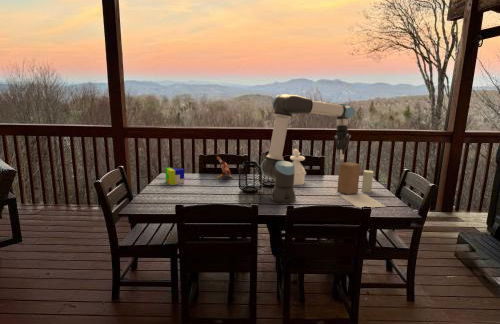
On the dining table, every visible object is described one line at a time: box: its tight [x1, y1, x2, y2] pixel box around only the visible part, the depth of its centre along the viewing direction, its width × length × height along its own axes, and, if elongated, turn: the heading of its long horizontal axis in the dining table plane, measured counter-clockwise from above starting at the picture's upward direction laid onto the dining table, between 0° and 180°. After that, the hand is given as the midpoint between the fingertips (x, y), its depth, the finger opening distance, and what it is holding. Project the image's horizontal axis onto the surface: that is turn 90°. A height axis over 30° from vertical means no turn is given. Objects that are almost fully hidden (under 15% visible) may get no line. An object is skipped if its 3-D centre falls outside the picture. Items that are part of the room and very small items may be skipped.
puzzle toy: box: [164, 166, 185, 186], centre depth 236 cm, size 10×10×10 cm
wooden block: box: [336, 161, 361, 195], centre depth 222 cm, size 10×10×20 cm
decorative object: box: [289, 148, 307, 186], centre depth 241 cm, size 16×14×25 cm
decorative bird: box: [216, 155, 234, 179], centre depth 251 cm, size 28×18×15 cm, turn 6°
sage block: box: [361, 169, 374, 194], centre depth 227 cm, size 6×6×14 cm
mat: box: [339, 194, 387, 209], centre depth 206 cm, size 23×18×1 cm
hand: (341, 159), depth 230 cm, fingers closed
